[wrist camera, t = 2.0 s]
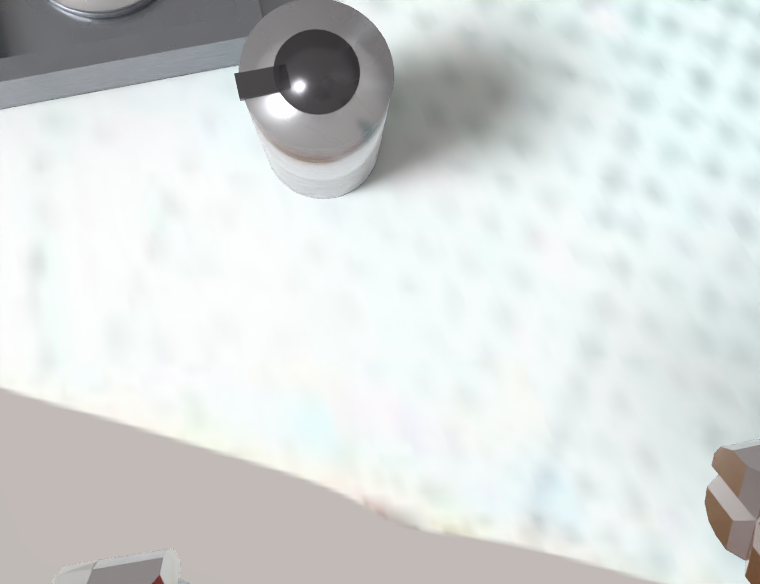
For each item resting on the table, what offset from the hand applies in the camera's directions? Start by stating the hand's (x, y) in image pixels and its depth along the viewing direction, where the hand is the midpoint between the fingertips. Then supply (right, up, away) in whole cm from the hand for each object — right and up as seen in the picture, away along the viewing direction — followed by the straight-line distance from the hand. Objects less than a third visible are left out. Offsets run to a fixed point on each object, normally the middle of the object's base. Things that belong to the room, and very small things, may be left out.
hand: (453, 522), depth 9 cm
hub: (-4, +11, +20) cm, 23 cm away
